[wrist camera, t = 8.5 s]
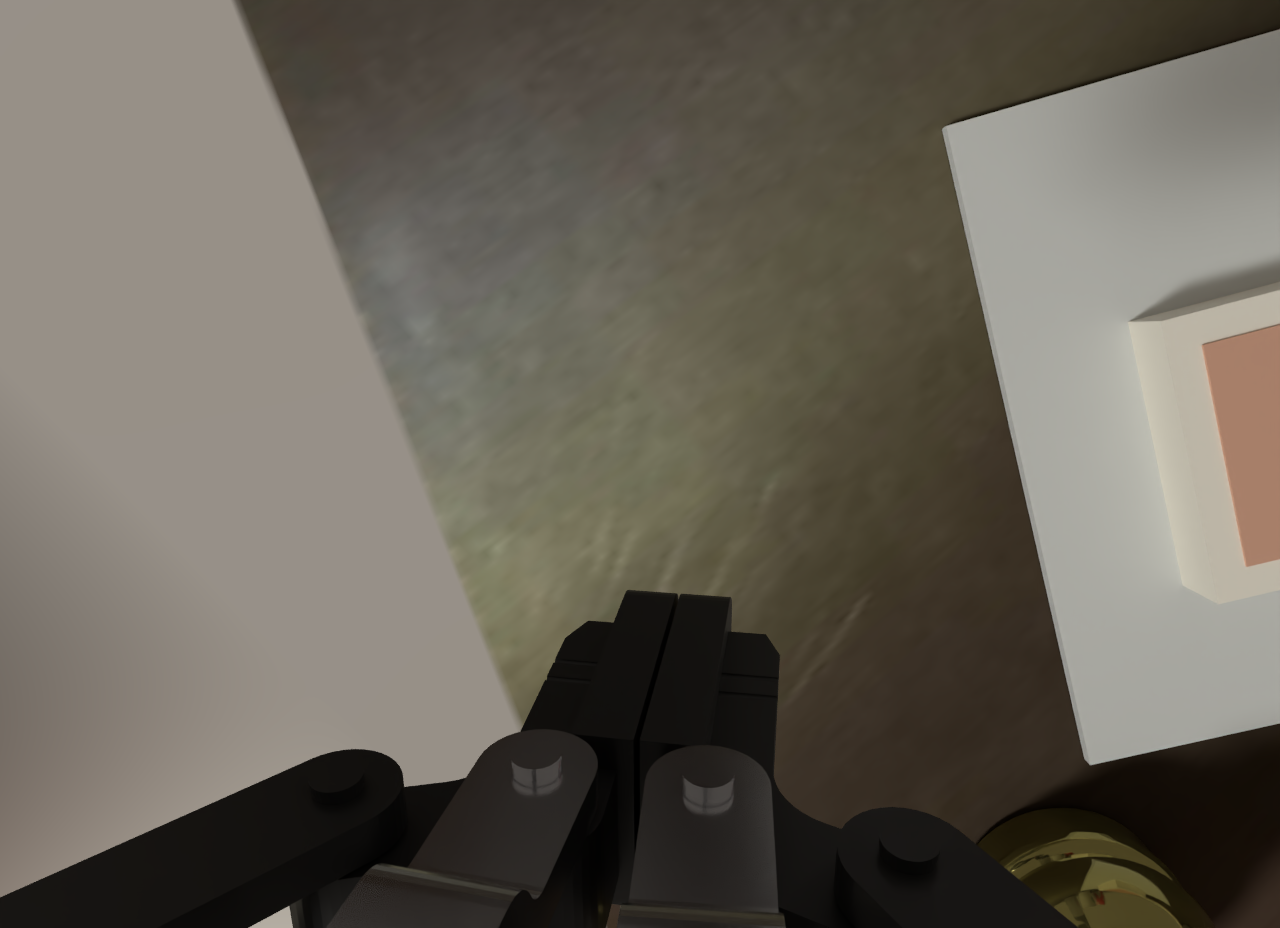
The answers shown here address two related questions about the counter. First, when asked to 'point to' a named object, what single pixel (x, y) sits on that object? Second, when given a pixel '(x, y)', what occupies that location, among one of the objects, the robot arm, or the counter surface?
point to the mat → (1125, 366)
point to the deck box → (1218, 436)
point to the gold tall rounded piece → (1093, 871)
